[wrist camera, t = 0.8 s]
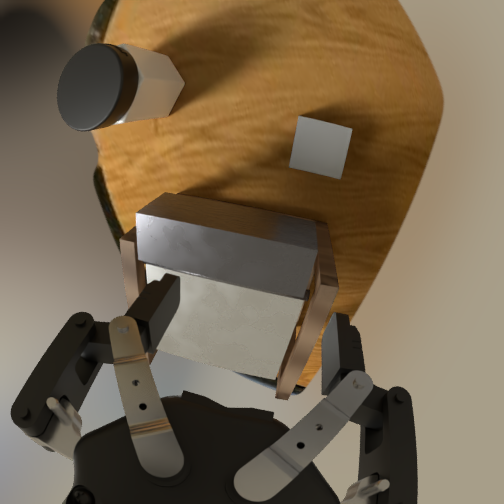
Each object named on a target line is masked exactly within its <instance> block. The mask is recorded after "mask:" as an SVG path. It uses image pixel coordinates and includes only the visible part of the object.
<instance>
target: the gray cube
mask: <svg viewBox="0 0 504 504" xmlns="http://www.w3.org/2000/svg"><path fill="white" fill-rule="evenodd" d="M351 133H352V129H351V128H348V127H345V126H341V125H337V124H333V123H329V122H325V121H321V120H317V119H312V118H308V117H303V116H299V117H298V122H297V127H296V133H295V138H294V143H293V148H292V153H291V159H290V164H289V168H294V169H299V170H303V171H308V172H312V173H316V174H321V175H325V176H329V177H333V178H337V179H341V176H342V172H343V168H344V164H345V159H346V155H347V151H348V147H349V142H350V138H351Z"/></svg>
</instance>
